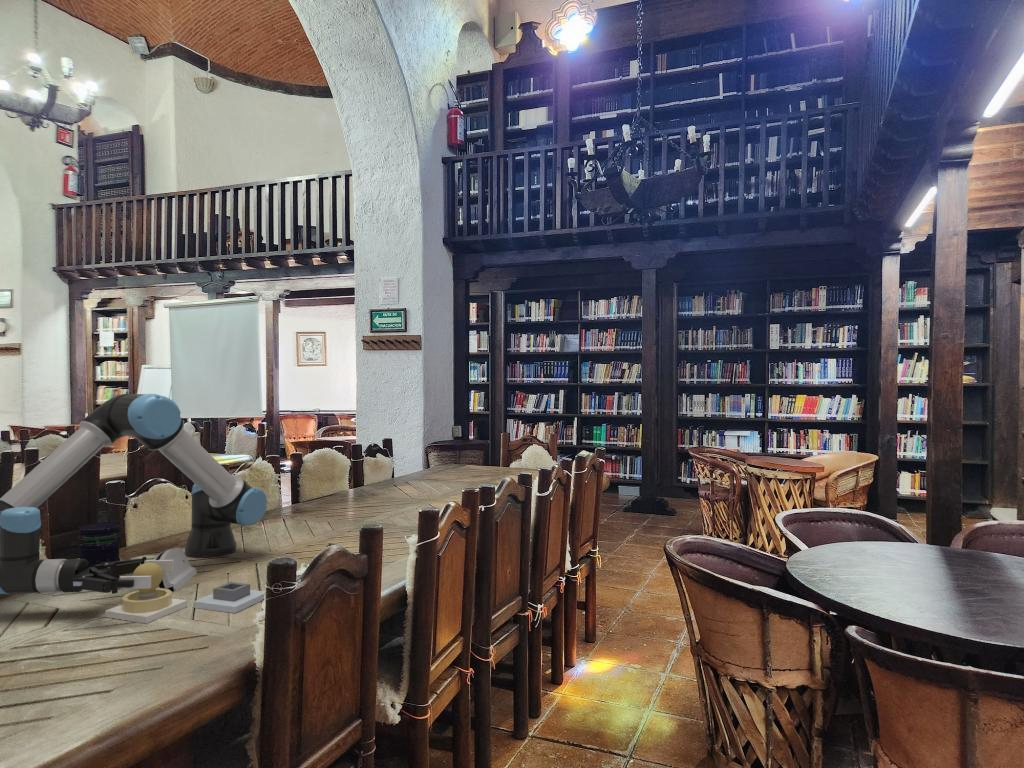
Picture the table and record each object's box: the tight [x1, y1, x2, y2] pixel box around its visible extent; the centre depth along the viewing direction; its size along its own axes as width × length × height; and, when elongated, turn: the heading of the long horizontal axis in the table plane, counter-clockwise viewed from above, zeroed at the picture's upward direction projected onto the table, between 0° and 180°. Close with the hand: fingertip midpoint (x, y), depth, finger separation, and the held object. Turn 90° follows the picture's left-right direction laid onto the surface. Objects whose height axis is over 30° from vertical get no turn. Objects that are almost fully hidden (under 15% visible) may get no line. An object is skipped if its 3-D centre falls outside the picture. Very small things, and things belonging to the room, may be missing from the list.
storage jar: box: [78, 521, 122, 580], centre depth 177 cm, size 10×10×15 cm
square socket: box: [193, 581, 265, 614], centre depth 161 cm, size 12×12×4 cm
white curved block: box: [152, 547, 198, 592], centre depth 176 cm, size 17×5×10 cm, turn 8°
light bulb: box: [131, 563, 163, 601], centre depth 153 cm, size 6×6×10 cm
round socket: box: [104, 588, 188, 624], centre depth 153 cm, size 12×12×4 cm
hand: (162, 573), depth 154 cm, fingers open, 13 cm apart
